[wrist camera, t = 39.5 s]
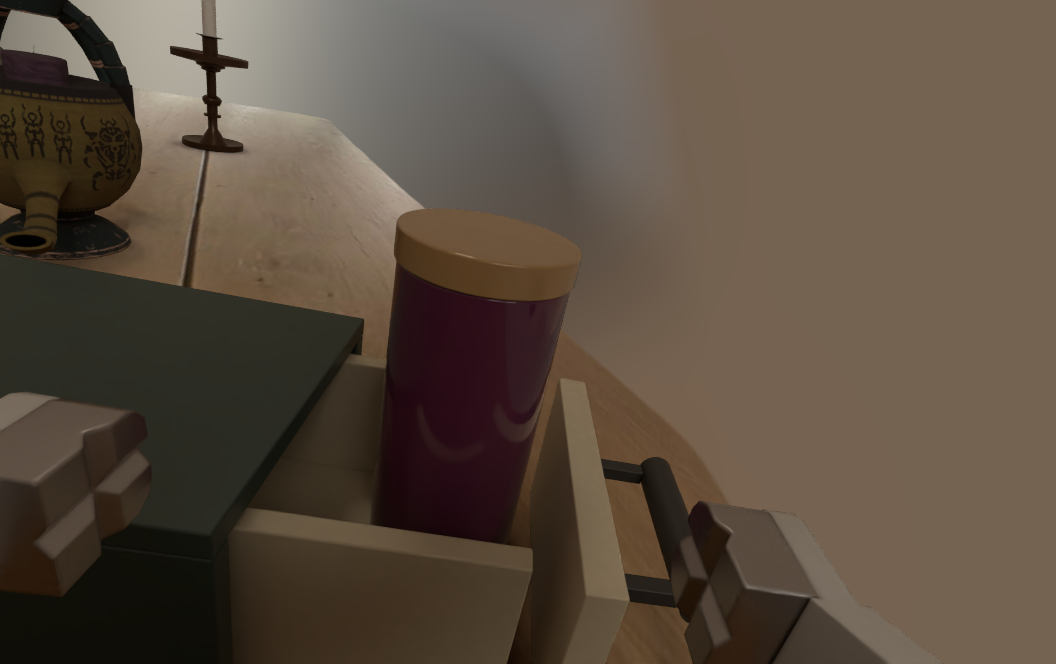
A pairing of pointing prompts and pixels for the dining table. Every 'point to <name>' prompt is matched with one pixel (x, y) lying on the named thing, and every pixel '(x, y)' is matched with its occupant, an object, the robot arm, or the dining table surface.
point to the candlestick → (210, 82)
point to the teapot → (64, 143)
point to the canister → (466, 369)
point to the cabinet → (161, 445)
